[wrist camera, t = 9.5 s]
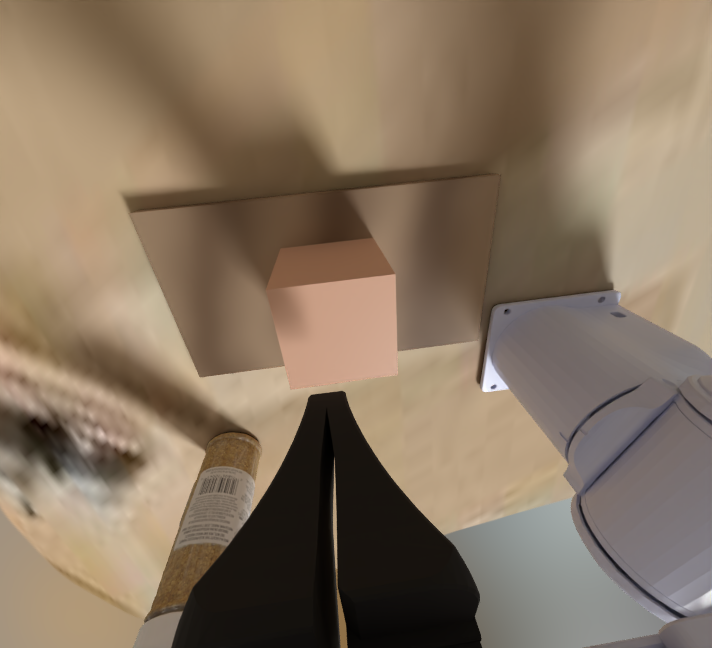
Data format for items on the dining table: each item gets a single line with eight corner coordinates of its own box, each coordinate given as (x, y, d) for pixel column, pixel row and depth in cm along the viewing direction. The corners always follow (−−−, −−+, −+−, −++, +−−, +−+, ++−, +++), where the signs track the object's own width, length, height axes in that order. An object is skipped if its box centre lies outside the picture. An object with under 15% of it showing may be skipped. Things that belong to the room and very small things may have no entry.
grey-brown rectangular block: (493, 173, 18) (562, 184, 13) (473, 334, 23) (515, 385, 18) (136, 210, 17) (60, 237, 12) (203, 370, 22) (170, 434, 17)
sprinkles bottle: (202, 459, 27) (114, 697, 15) (215, 423, 25) (127, 663, 13) (254, 469, 28) (210, 694, 17) (270, 436, 26) (234, 664, 15)
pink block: (373, 237, 18) (395, 274, 13) (377, 318, 21) (397, 374, 16) (280, 248, 18) (265, 290, 13) (297, 328, 21) (290, 389, 15)
